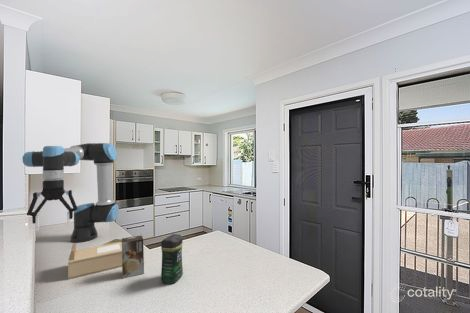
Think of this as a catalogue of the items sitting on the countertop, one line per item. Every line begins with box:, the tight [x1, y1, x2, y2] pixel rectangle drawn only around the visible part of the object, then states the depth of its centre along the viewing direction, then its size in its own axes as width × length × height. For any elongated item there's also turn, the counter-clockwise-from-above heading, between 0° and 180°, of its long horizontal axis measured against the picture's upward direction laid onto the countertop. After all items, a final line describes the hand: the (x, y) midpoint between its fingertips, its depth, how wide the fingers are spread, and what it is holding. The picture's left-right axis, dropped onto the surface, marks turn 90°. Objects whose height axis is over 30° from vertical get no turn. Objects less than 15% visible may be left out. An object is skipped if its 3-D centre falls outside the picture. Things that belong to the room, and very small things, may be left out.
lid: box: [67, 242, 122, 264], centre depth 111 cm, size 14×26×5 cm, turn 122°
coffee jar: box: [160, 233, 184, 284], centre depth 98 cm, size 10×8×19 cm
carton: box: [102, 238, 122, 245], centre depth 131 cm, size 8×16×4 cm, turn 167°
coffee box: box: [121, 234, 145, 279], centre depth 103 cm, size 9×6×16 cm
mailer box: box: [67, 252, 122, 281], centre depth 111 cm, size 14×26×7 cm, turn 122°
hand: (53, 228), depth 102 cm, fingers open, 10 cm apart
